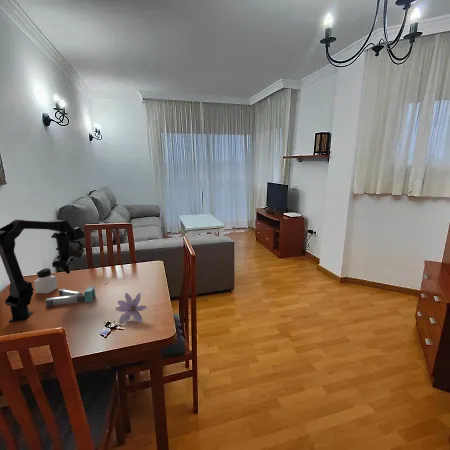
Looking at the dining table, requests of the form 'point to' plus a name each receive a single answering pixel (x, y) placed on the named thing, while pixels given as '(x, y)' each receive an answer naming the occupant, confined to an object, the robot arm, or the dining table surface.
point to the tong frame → (65, 300)
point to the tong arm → (67, 292)
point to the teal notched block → (89, 294)
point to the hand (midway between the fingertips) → (68, 273)
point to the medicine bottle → (45, 281)
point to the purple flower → (130, 308)
